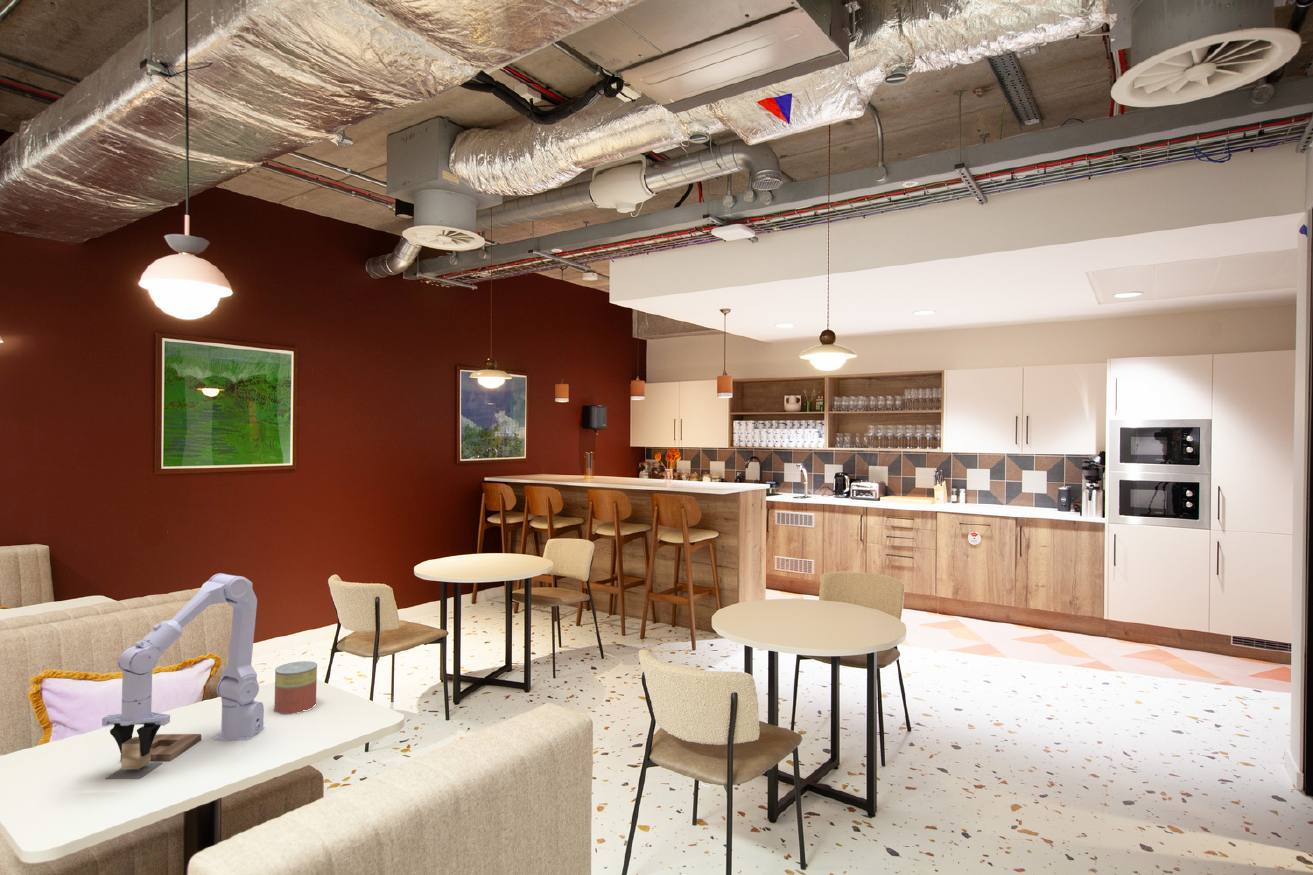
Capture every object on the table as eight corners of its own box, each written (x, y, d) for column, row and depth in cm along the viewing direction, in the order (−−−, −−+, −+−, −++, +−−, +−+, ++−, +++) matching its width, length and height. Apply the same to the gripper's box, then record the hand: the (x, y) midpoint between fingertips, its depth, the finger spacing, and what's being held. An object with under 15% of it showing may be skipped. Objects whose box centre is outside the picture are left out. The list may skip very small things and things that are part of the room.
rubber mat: (163, 764, 166) (163, 762, 166) (140, 780, 158) (140, 778, 158) (130, 764, 165) (130, 762, 165) (104, 780, 157) (104, 778, 157)
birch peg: (150, 761, 164) (151, 736, 164) (138, 769, 160) (139, 743, 160) (133, 761, 164) (134, 736, 164) (121, 769, 160) (121, 743, 160)
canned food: (324, 700, 208) (324, 662, 209) (301, 715, 197) (302, 674, 197) (289, 699, 209) (290, 660, 210) (265, 713, 198) (266, 672, 198)
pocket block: (201, 741, 179) (201, 733, 179) (170, 762, 167) (170, 754, 167) (154, 741, 178) (154, 734, 178) (120, 762, 166) (120, 754, 166)
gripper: (92, 704, 157) (90, 762, 157) (156, 703, 158) (154, 761, 158) (115, 693, 165) (113, 749, 164) (176, 692, 165) (175, 748, 165)
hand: (135, 754), depth 162 cm, fingers closed on birch peg, 4 cm apart
